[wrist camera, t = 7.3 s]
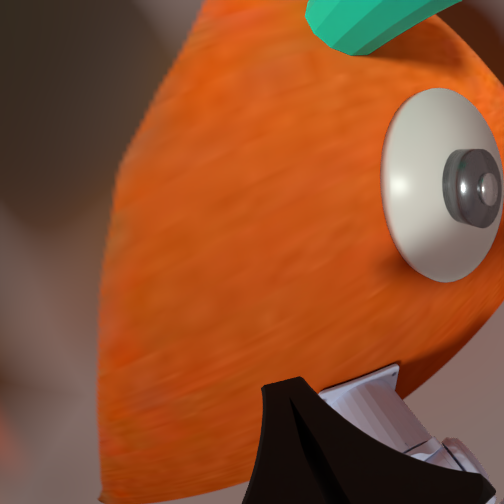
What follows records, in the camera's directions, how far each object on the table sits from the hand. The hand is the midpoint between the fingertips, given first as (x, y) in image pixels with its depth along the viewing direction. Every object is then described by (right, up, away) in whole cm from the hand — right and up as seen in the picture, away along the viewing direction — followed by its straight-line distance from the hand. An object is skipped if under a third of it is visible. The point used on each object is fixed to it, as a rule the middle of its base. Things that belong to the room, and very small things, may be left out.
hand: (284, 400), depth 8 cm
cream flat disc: (+15, +11, +9) cm, 21 cm away
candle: (+5, +21, +5) cm, 23 cm away
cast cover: (+16, +10, +8) cm, 21 cm away
